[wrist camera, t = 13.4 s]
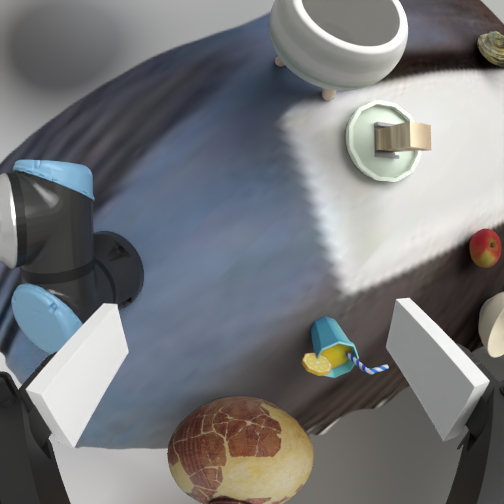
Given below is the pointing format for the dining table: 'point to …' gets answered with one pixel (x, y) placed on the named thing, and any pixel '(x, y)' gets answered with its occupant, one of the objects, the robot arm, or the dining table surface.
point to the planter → (338, 41)
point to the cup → (333, 351)
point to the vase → (240, 453)
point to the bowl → (492, 325)
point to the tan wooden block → (404, 137)
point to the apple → (485, 248)
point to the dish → (364, 142)
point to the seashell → (492, 47)
